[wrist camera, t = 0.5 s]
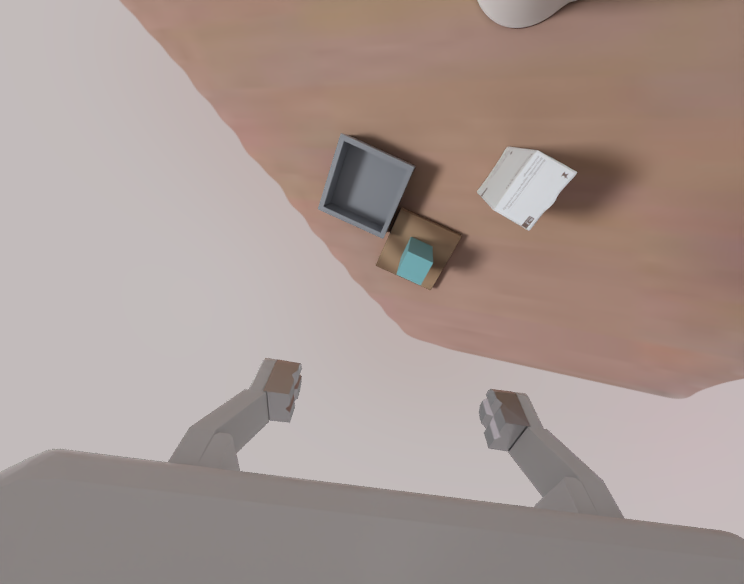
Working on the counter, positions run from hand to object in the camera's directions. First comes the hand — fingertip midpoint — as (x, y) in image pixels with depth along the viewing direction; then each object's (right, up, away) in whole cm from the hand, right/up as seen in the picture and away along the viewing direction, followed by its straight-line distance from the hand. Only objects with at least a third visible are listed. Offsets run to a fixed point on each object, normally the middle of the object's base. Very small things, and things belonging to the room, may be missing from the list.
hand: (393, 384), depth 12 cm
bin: (-2, +23, +40) cm, 46 cm away
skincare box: (+21, +23, +36) cm, 48 cm away
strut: (+7, +12, +42) cm, 44 cm away
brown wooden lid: (+8, +12, +43) cm, 46 cm away
